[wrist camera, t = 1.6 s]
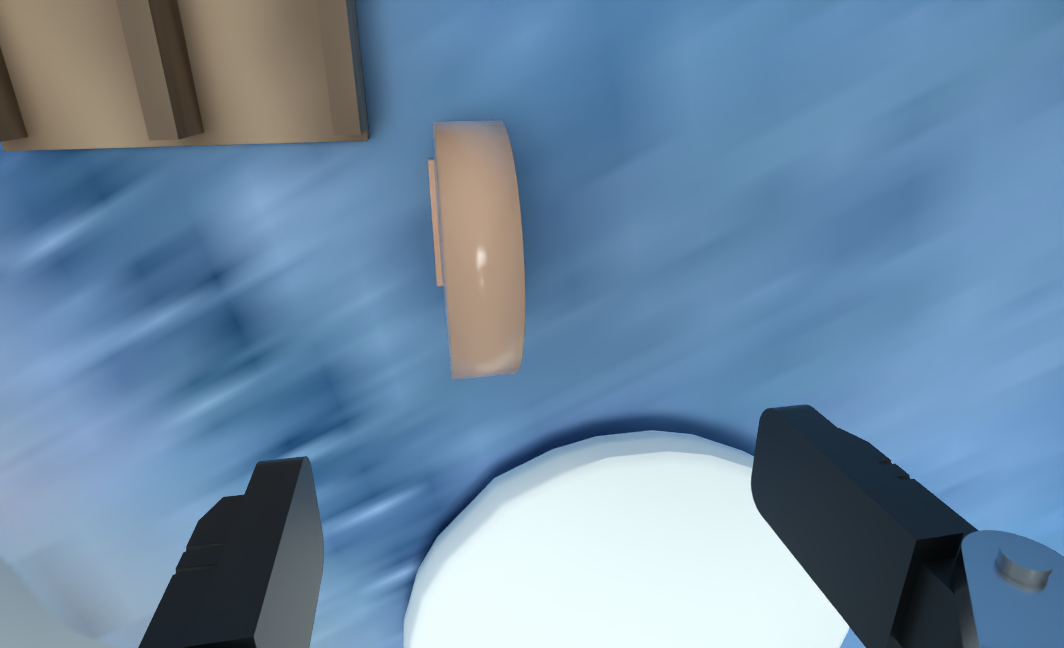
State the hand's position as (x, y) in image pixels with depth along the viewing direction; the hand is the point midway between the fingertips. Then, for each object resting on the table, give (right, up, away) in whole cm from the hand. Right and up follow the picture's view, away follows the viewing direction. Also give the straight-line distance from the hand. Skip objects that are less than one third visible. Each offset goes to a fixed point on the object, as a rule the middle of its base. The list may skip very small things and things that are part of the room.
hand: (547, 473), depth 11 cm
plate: (+6, -15, +30) cm, 34 cm away
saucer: (-4, +8, +19) cm, 21 cm away
